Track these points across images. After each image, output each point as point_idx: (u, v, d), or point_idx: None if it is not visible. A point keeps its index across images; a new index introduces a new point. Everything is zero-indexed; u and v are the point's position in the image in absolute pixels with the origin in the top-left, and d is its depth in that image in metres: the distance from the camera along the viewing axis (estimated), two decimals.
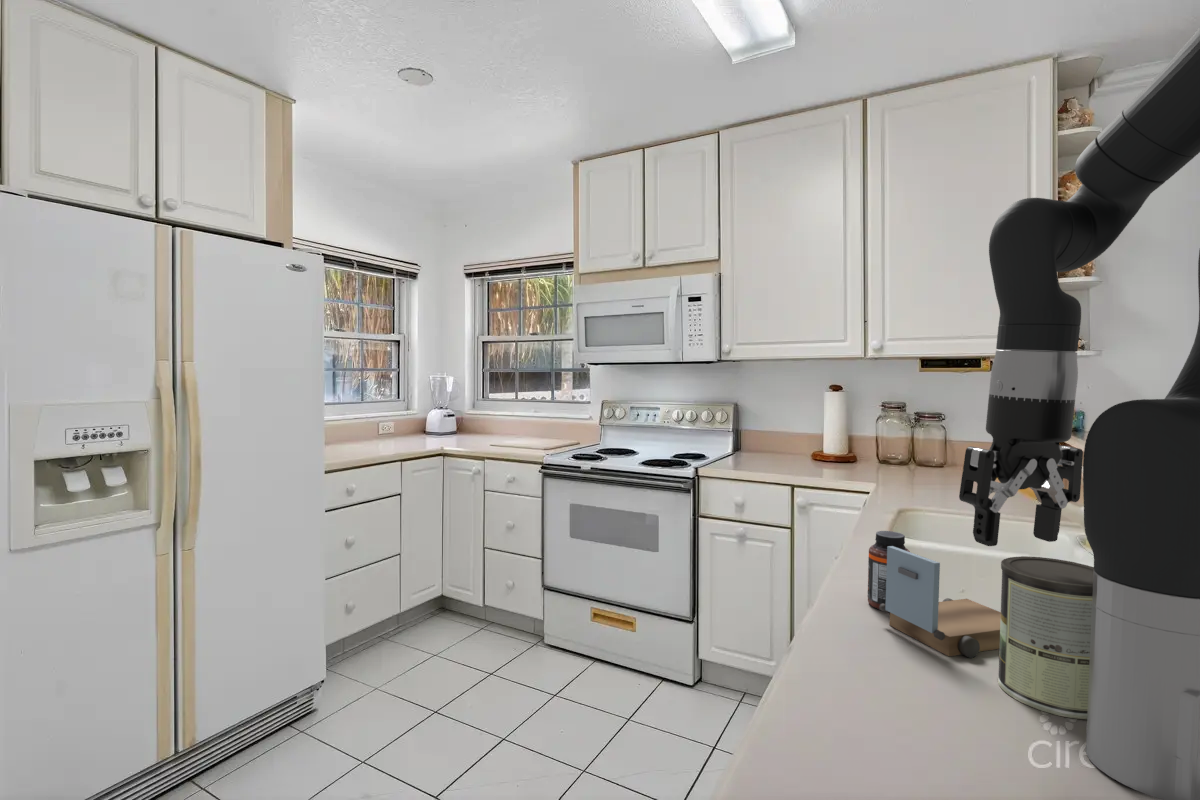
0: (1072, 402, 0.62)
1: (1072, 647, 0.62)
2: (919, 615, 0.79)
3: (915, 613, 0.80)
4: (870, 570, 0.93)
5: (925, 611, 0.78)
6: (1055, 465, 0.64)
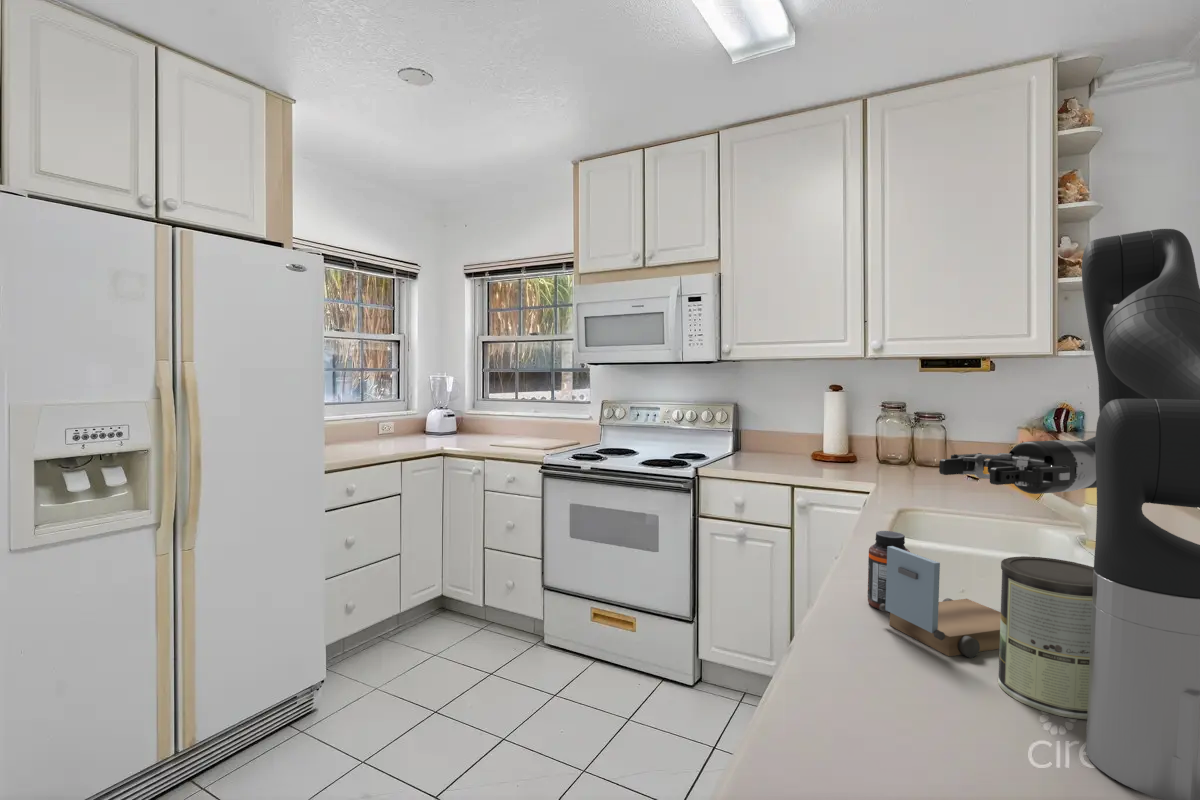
0: (1058, 443, 0.87)
1: (1072, 647, 0.62)
2: (919, 615, 0.79)
3: (915, 613, 0.80)
4: (870, 570, 0.93)
5: (925, 611, 0.78)
6: (1028, 456, 0.84)
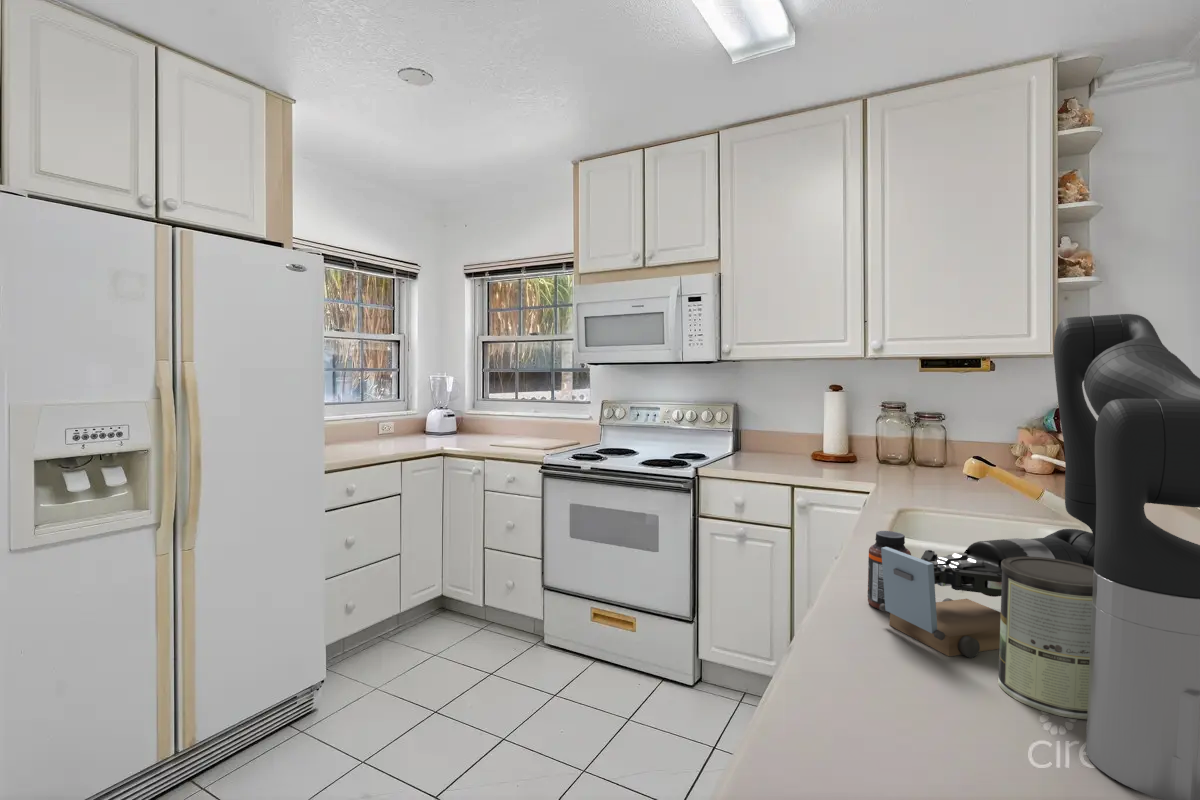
0: (1015, 543, 0.85)
1: (1072, 647, 0.62)
2: (918, 616, 0.79)
3: (914, 614, 0.80)
4: (870, 570, 0.93)
5: (923, 612, 0.78)
6: (981, 560, 0.82)
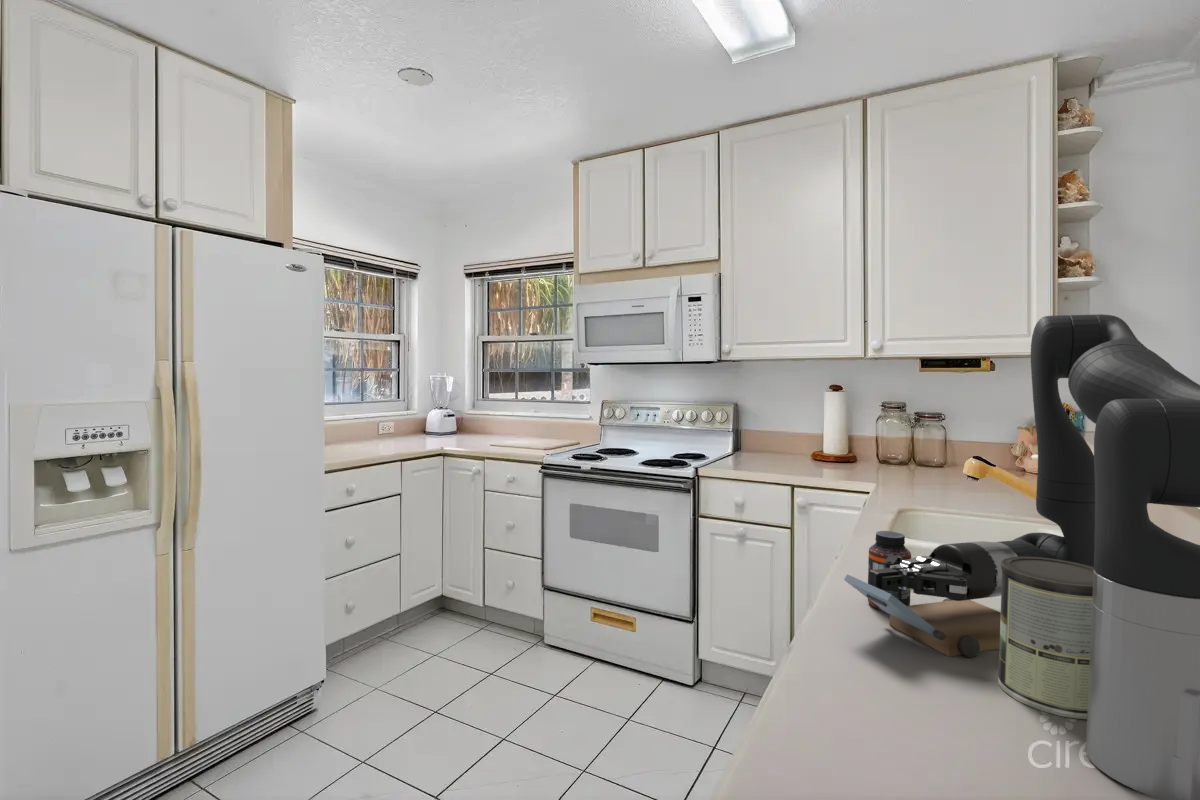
0: (980, 547, 0.83)
1: (1072, 647, 0.62)
2: (913, 623, 0.79)
3: (909, 621, 0.80)
4: None
5: (914, 623, 0.78)
6: (945, 564, 0.80)
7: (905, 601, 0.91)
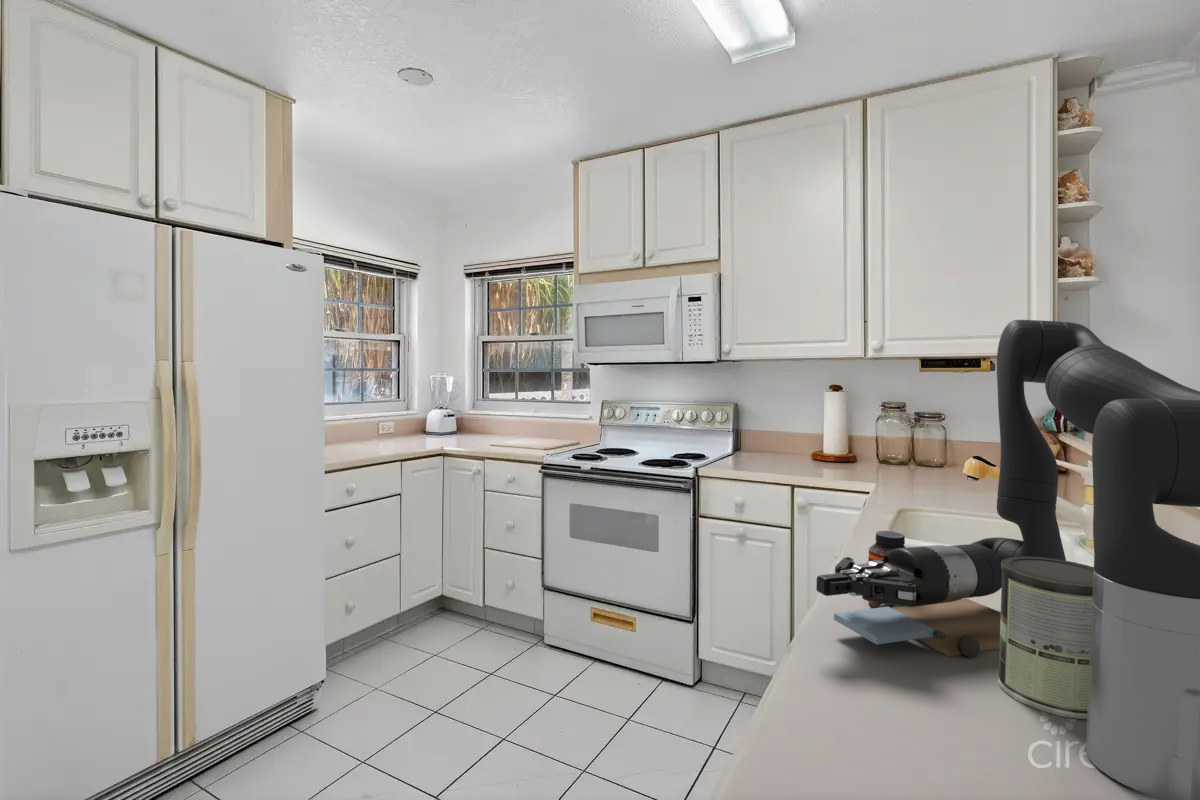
0: (933, 551, 0.81)
1: (1072, 647, 0.62)
2: None
3: None
4: None
5: None
6: (895, 569, 0.78)
7: None
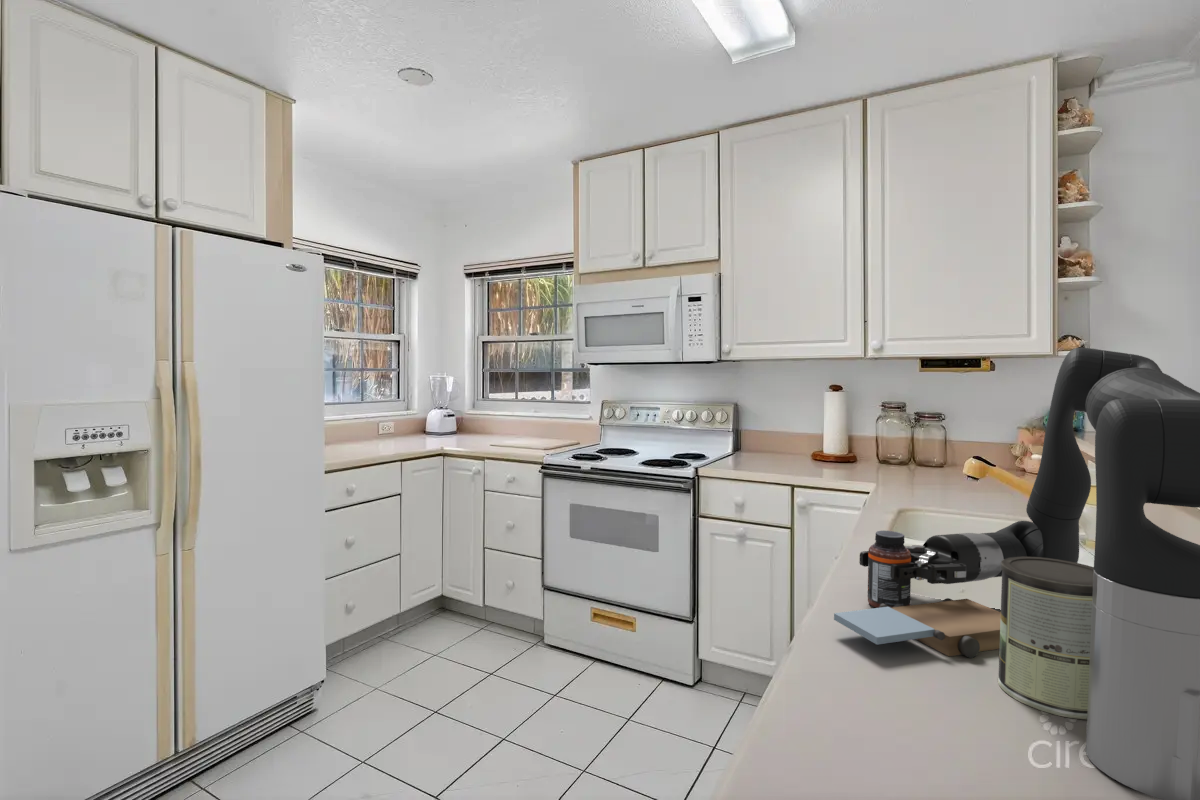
0: (966, 537, 0.96)
1: (1072, 647, 0.62)
2: None
3: None
4: (870, 570, 0.93)
5: None
6: (936, 552, 0.93)
7: (905, 601, 0.91)
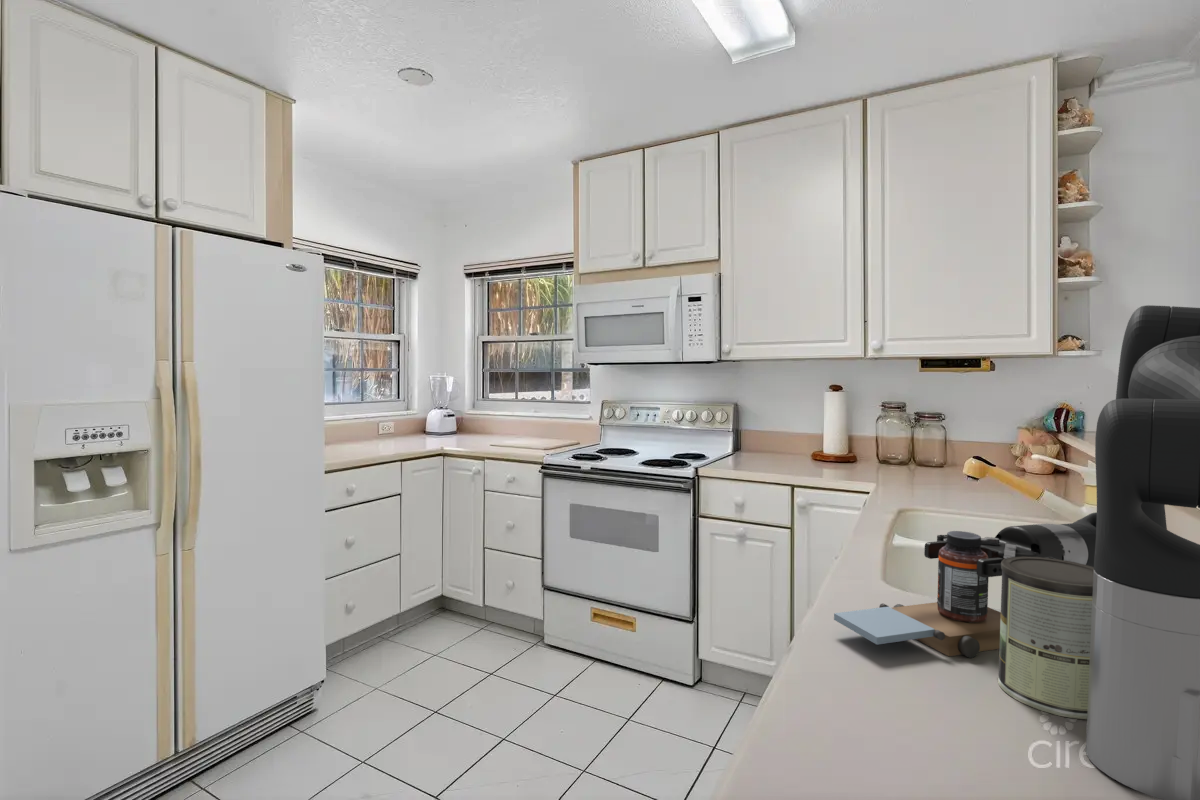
0: (1046, 528, 0.86)
1: (1072, 647, 0.62)
2: None
3: None
4: (941, 575, 0.83)
5: None
6: (1014, 544, 0.83)
7: (983, 610, 0.81)
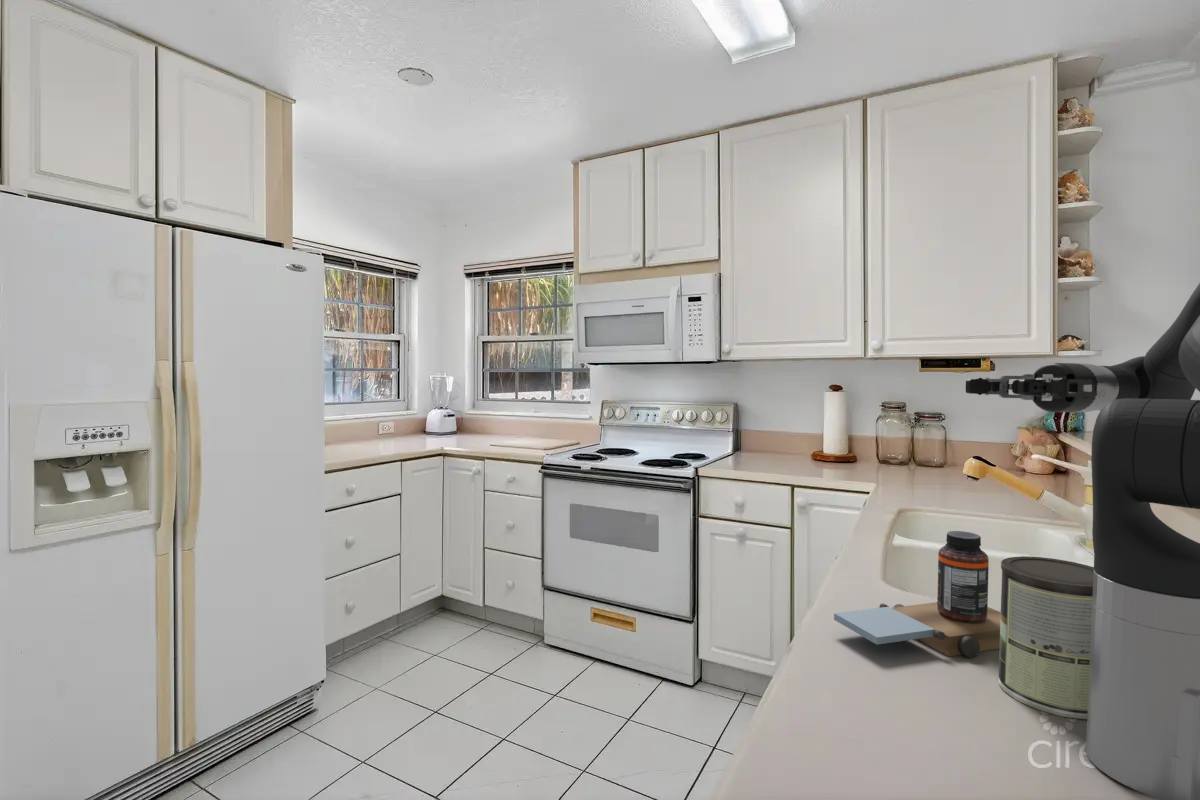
0: (1079, 364, 0.92)
1: (1072, 647, 0.62)
2: None
3: None
4: (941, 575, 0.83)
5: None
6: (1051, 374, 0.89)
7: (983, 610, 0.81)
